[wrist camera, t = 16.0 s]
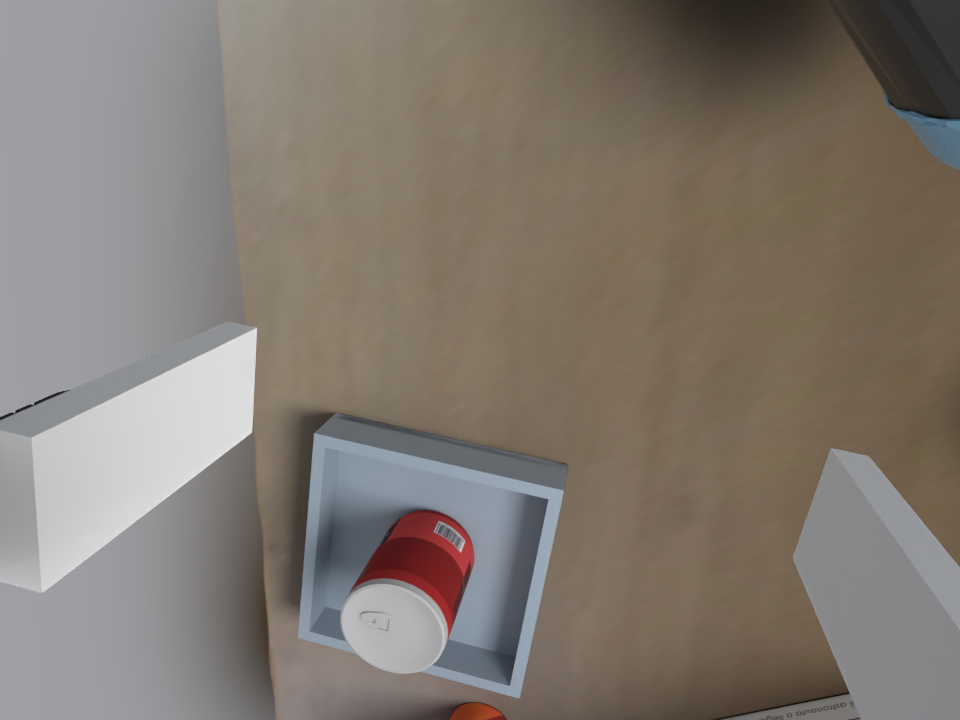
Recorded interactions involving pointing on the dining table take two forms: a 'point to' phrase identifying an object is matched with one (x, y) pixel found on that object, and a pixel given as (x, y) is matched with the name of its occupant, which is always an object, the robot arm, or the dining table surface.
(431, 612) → the canned food
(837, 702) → the cereal box
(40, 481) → the robot arm
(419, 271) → the dining table surface
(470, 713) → the coffee cup
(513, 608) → the bin
